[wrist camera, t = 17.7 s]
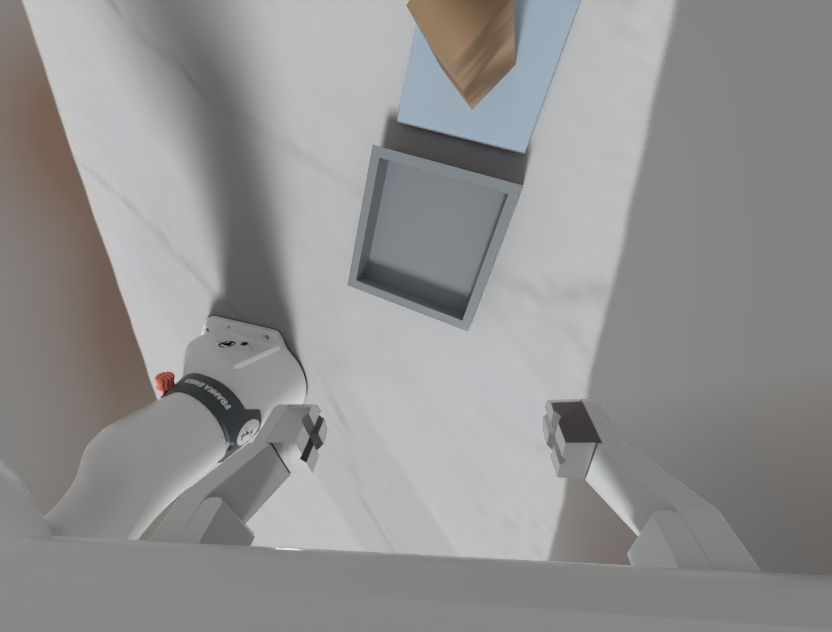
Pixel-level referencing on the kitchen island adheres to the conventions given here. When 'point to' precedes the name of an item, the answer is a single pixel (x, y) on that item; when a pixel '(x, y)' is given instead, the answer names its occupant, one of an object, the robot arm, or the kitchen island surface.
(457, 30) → the walnut block
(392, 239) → the parts bin
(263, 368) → the robot arm
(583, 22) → the kitchen island surface
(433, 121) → the light blue flat slab
